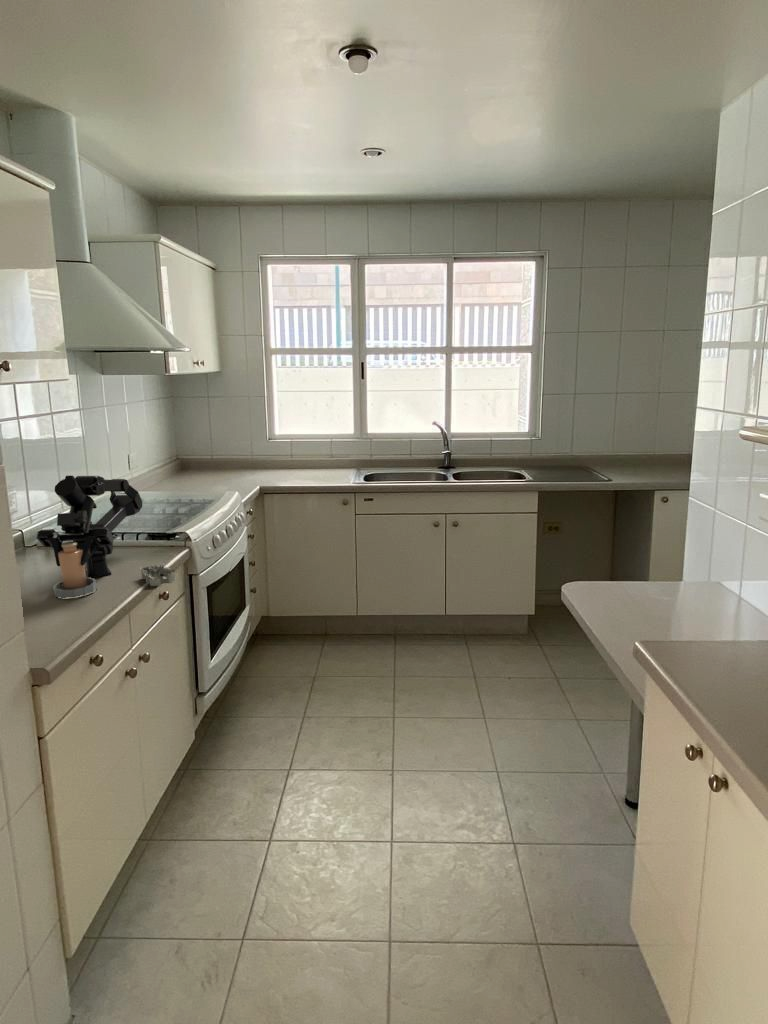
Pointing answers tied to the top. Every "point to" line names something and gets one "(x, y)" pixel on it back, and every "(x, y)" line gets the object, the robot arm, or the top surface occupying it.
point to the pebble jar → (72, 567)
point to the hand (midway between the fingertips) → (70, 565)
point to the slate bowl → (75, 592)
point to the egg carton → (157, 575)
